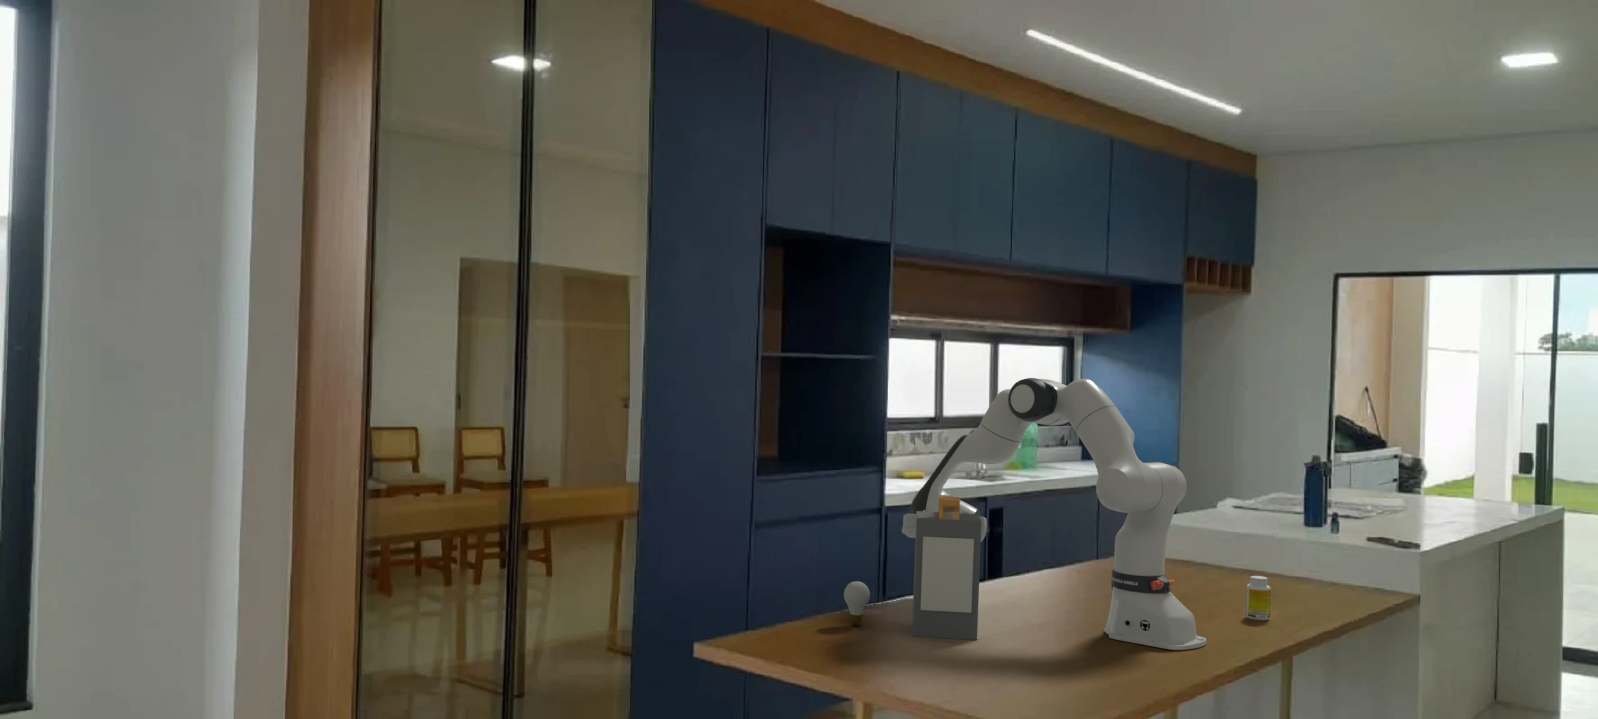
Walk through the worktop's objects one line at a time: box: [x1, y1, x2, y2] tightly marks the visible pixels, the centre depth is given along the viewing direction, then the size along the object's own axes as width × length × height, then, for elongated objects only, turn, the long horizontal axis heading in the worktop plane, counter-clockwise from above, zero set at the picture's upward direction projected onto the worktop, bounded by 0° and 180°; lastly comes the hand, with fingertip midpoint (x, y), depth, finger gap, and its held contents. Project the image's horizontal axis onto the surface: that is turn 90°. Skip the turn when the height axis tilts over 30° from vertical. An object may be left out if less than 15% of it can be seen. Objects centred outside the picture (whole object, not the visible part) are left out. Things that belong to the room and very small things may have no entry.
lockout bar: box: [938, 495, 961, 520], centre depth 274 cm, size 22×4×4 cm, turn 175°
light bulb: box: [843, 580, 871, 627], centre depth 272 cm, size 6×6×10 cm
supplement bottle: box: [1245, 575, 1272, 622], centre depth 296 cm, size 6×6×10 cm
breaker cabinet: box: [911, 511, 982, 641], centre depth 268 cm, size 13×14×26 cm
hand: (945, 513), depth 286 cm, fingers open, 8 cm apart
